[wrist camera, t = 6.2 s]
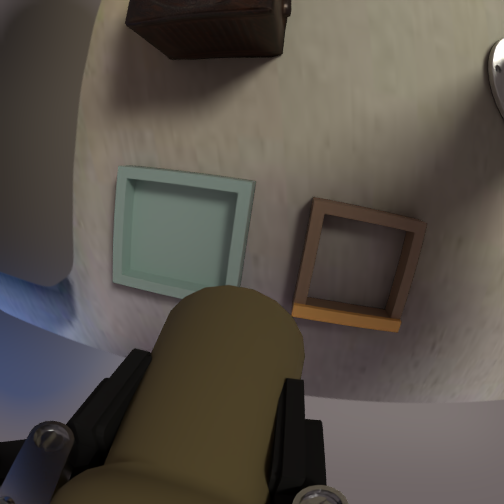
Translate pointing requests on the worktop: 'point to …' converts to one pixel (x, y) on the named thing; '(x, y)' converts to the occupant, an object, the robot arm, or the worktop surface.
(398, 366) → the worktop surface
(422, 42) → the worktop surface
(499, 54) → the robot arm
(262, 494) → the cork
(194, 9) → the brown coffee grinder
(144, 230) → the tray
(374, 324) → the holder frame
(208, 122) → the worktop surface
